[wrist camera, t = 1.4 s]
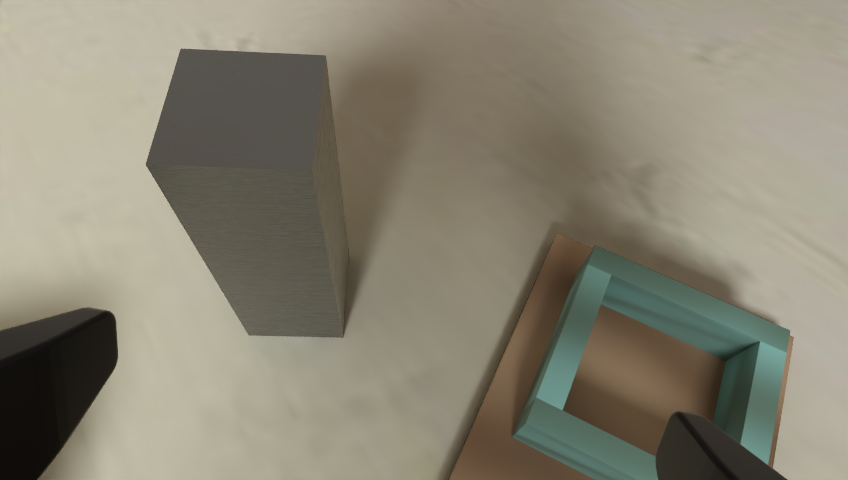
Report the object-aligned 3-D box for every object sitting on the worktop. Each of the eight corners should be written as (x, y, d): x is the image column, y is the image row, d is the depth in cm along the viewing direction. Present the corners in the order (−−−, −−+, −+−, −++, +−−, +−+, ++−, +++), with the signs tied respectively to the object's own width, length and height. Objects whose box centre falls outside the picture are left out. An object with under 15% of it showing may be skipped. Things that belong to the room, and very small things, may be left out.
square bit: (342, 337, 24) (312, 170, 14) (248, 335, 24) (145, 164, 14) (349, 255, 26) (326, 55, 16) (262, 252, 26) (181, 48, 16)
